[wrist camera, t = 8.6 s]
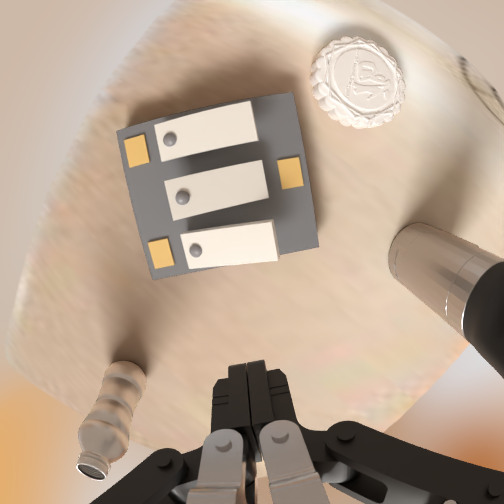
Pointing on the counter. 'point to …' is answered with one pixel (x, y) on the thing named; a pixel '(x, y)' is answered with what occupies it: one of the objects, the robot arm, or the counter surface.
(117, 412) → the plastic bottle
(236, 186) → the plate
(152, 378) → the counter surface
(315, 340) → the counter surface
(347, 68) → the mooncake
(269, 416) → the robot arm
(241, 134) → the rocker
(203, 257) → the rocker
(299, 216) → the switch console
